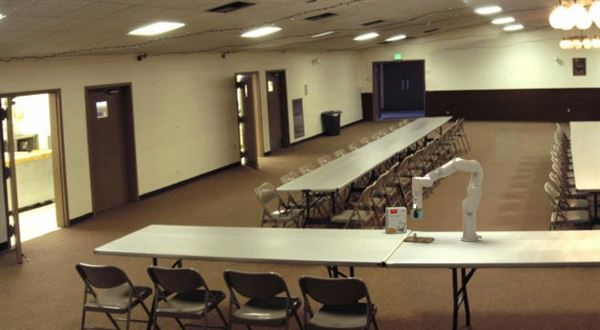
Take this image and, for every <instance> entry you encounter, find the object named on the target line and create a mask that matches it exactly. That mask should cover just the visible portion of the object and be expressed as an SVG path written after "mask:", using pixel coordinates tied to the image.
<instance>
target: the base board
mask: <svg viewBox="0 0 600 330" xmlns="http://www.w3.org/2000/svg"><path fill="white" fill-rule="evenodd" d="M433 241H435V237H432V236H431V237H430V236H417V233H416V232H413V235H408V236H407V237H405V238H404V239H403V243H414V244H428V245H429V244H431V243H432V242H433Z"/></svg>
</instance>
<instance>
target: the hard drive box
mask: <svg viewBox="0 0 600 330" xmlns="http://www.w3.org/2000/svg"><path fill="white" fill-rule="evenodd" d="M407 211H408V210H407V207H405V206H395V207H394V206H393V207H392V206H391V207H385V232H386V233H387V234H388V235H389V233H393V234H406V233H405V232H407V231H408V229H407V227H408V226H407V223H408V222H407V219H408V218H407V215H408V214H407Z"/></svg>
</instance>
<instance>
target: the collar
mask: <svg viewBox="0 0 600 330" xmlns="http://www.w3.org/2000/svg"><path fill="white" fill-rule="evenodd" d="M410 212H411V219H412V220H422V219H423V218H424V209H421V210H418V212H417V213H418V218H414V209H412V210H411V211H410Z"/></svg>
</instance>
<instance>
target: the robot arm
mask: <svg viewBox="0 0 600 330" xmlns="http://www.w3.org/2000/svg"><path fill="white" fill-rule="evenodd" d="M456 171H461V172H468V173H470V174H471V175H470V176H471V177H470V180H469V184H468V186H467V189H466V192H467V196H466V198H464V199H463V200H462V205H461V207H462V208H461V209H462V237H460V240H461V241H463V242H477V241H479V239H482V238H483V236H482V235H478V233H477V214H476V213H477V212H476V211H477V210H478V207H479V205H480V202H481V198H482V194H483V191H482V190H483V189H481V188H482V183H483V179H484V170H483V167H482V165H481V164H480V162H479V161H478V160H475V159H470V160H468V159H465V158H464V159H463V158H461V157H458V156H457V157H456V156H455V157H454V158H452V159H451V160H449V161H447V162H446V163H444V164H442V165H441V166H439V167H437V168H436V169H434V170H432V171H430V172H428V173H426V174H425V175H424V176H413V177H412V178H411V183H412V184H411V195H412V210H414V218H418V213H417V212H418V210H422V208H423V188H424V187H425V188H430V187H432V186H433V185H434V182H435V181H437V180H439V179H441V178H446V177H448V176H450V175H451V174H453V173H454V172H455V173H456Z"/></svg>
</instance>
